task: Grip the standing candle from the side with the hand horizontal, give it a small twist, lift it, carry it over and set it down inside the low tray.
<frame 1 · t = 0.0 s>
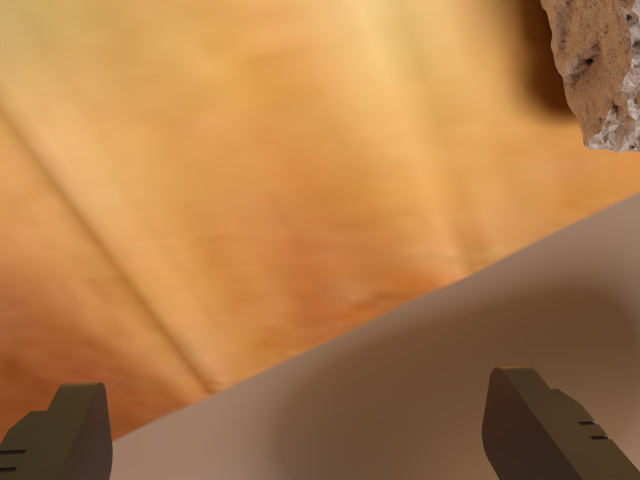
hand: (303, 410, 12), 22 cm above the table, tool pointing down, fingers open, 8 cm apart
pumice stone: (590, 0, 31), on the table
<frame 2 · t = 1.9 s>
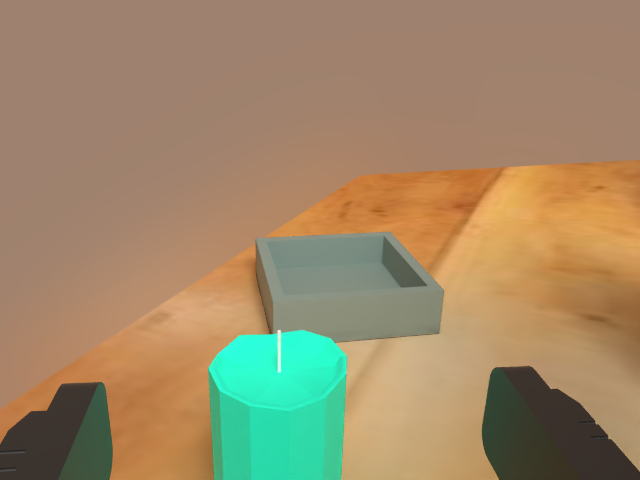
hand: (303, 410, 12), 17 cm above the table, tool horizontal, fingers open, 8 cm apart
tray: (338, 301, 53), on the table
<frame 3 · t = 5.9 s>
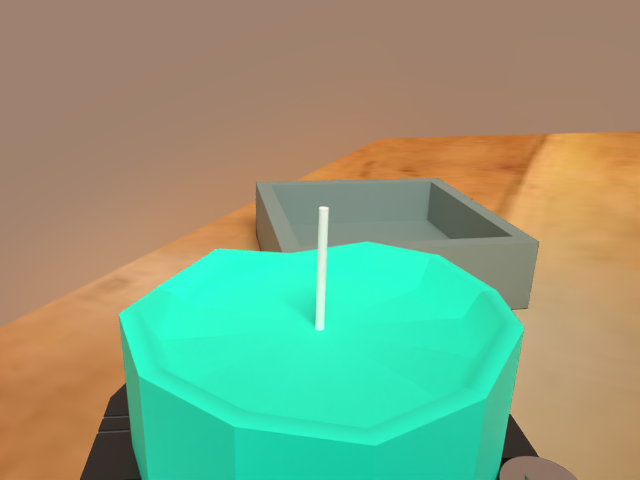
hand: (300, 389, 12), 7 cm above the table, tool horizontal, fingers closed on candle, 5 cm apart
tray: (373, 266, 37), on the table
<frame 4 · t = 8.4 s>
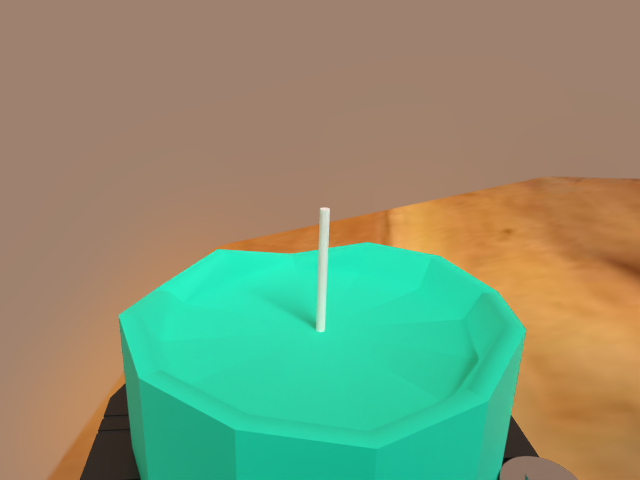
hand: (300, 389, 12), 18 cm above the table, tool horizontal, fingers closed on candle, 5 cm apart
when the fingers open (9 cm above the table, at t = 11.0 s): candle drops 1 cm, resting on tray.
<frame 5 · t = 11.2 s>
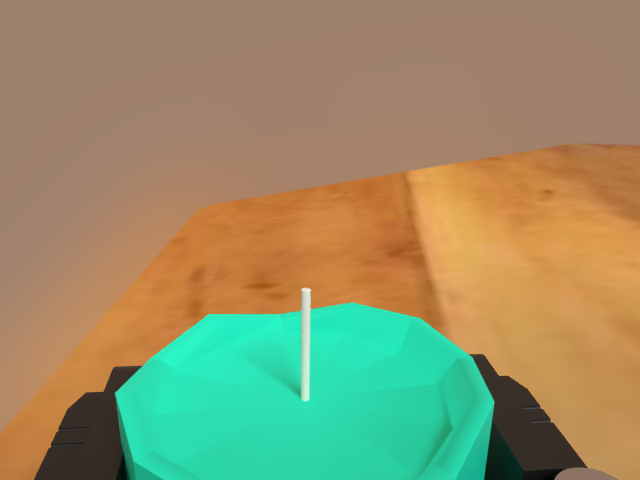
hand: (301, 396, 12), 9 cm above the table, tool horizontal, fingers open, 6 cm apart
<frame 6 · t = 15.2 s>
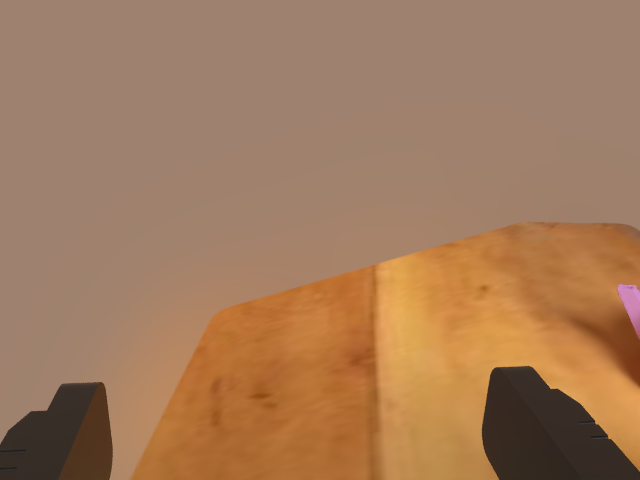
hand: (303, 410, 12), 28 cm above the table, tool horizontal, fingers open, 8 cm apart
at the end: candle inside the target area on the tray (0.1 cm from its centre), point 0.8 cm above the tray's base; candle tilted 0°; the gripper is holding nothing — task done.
